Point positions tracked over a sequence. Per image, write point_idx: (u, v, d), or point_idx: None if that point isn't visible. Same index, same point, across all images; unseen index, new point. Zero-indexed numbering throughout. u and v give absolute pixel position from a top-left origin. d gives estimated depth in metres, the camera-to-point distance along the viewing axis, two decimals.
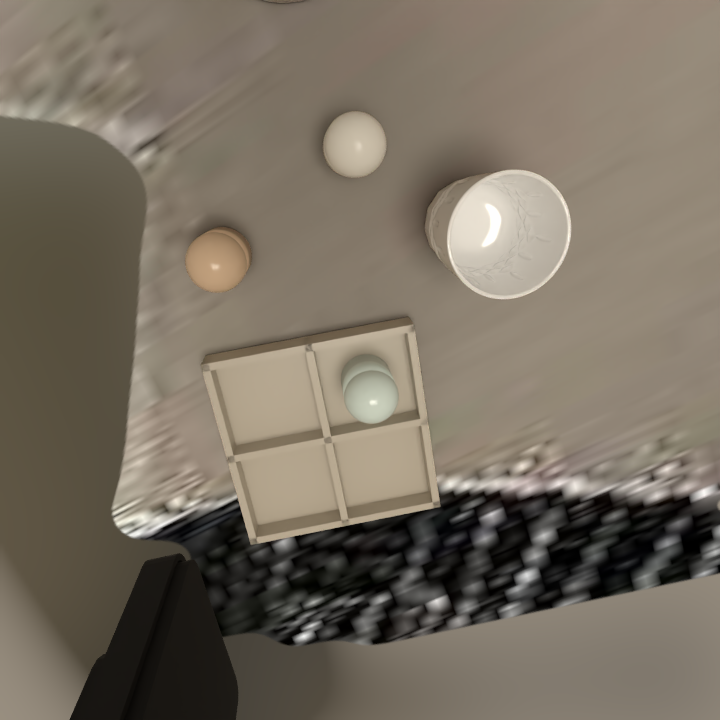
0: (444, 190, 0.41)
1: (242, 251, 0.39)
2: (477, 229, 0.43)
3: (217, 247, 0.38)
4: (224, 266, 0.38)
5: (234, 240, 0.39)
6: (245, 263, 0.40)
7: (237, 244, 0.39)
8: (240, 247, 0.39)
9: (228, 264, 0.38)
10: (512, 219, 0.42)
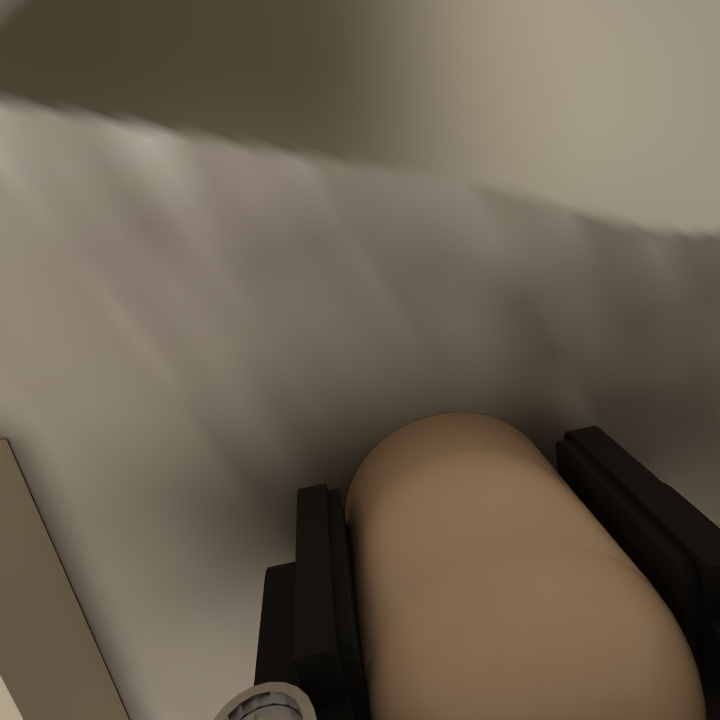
0: None
1: None
2: None
3: None
4: None
5: None
6: None
7: None
8: None
9: None
10: None
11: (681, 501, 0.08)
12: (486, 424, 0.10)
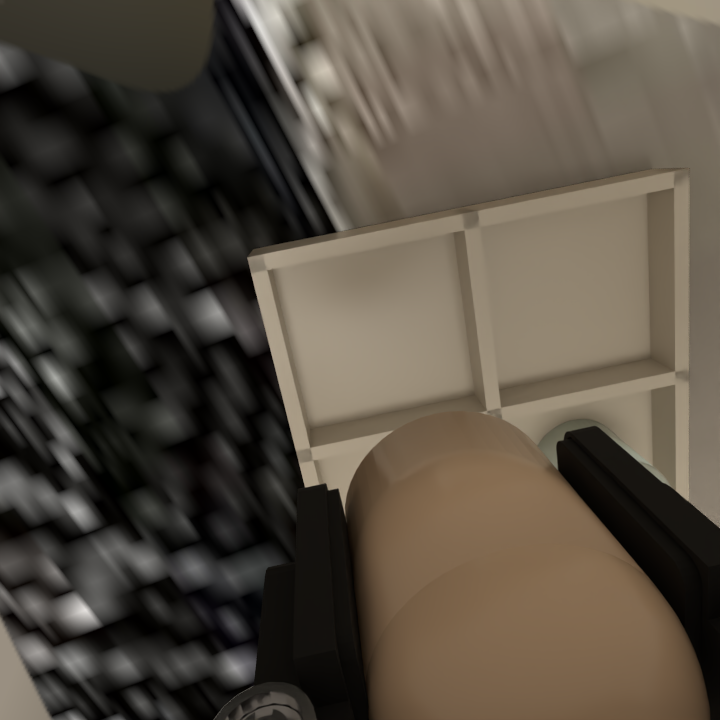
0: None
1: None
2: None
3: None
4: None
5: None
6: None
7: None
8: None
9: None
10: None
11: (681, 501, 0.08)
12: (486, 423, 0.10)
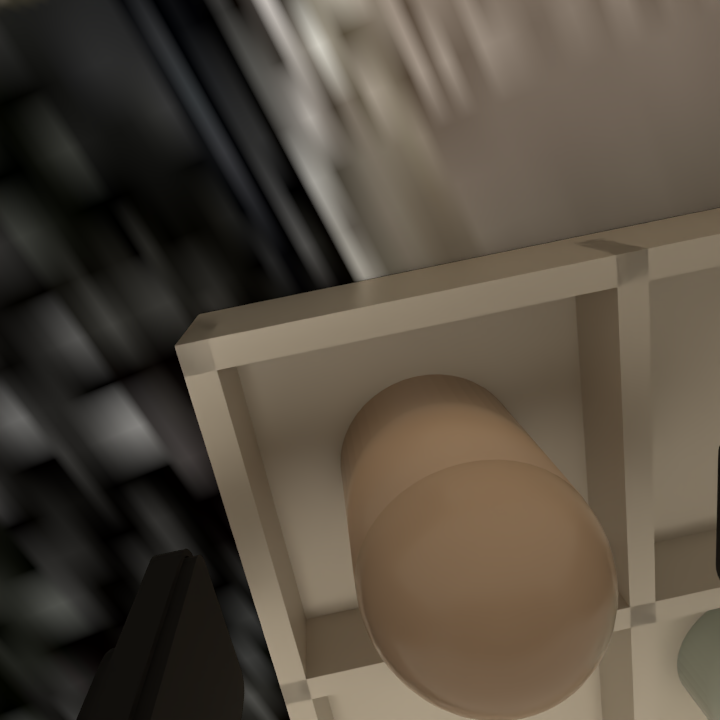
0: None
1: None
2: None
3: (596, 664, 0.08)
4: (518, 712, 0.08)
5: None
6: None
7: None
8: None
9: (521, 716, 0.08)
10: None
11: None
12: (458, 383, 0.12)
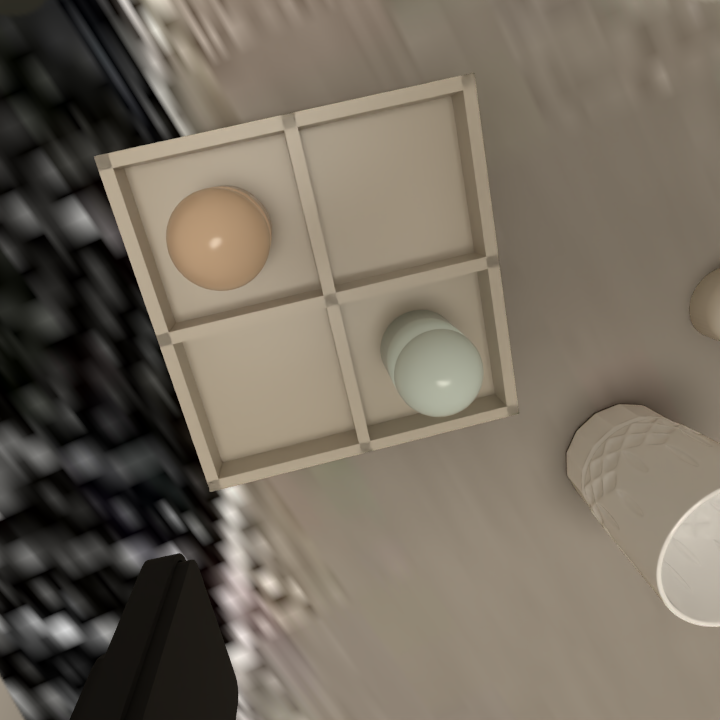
0: None
1: (243, 285, 0.24)
2: None
3: (248, 253, 0.22)
4: (216, 266, 0.22)
5: (260, 271, 0.24)
6: (223, 290, 0.24)
7: (254, 277, 0.24)
8: (249, 281, 0.24)
9: (221, 272, 0.22)
10: None
11: None
12: (232, 186, 0.26)
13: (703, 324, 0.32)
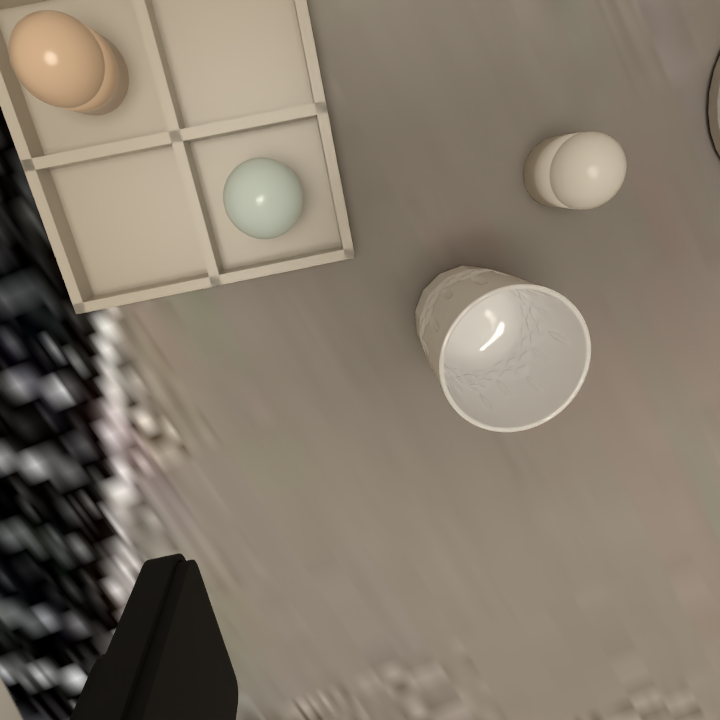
0: None
1: (81, 102, 0.28)
2: (465, 327, 0.36)
3: (75, 64, 0.26)
4: (46, 73, 0.26)
5: (96, 91, 0.28)
6: (64, 106, 0.28)
7: (89, 95, 0.28)
8: (86, 99, 0.28)
9: (51, 79, 0.26)
10: (478, 366, 0.37)
11: None
12: None
13: (532, 187, 0.35)
